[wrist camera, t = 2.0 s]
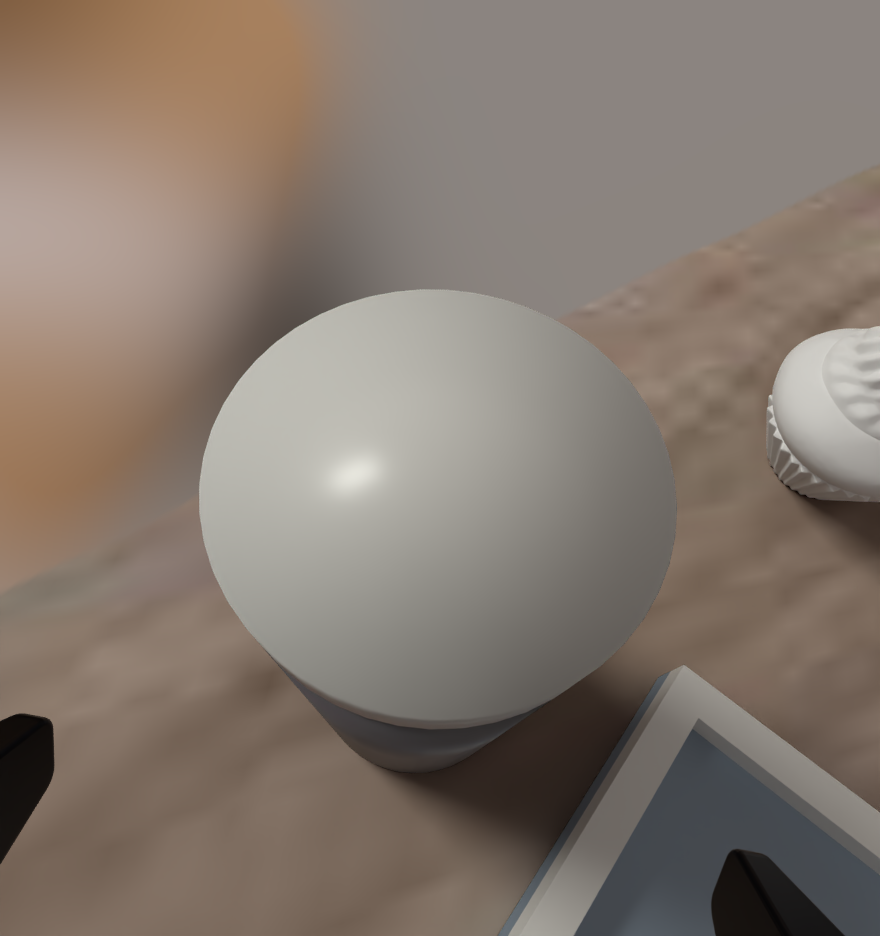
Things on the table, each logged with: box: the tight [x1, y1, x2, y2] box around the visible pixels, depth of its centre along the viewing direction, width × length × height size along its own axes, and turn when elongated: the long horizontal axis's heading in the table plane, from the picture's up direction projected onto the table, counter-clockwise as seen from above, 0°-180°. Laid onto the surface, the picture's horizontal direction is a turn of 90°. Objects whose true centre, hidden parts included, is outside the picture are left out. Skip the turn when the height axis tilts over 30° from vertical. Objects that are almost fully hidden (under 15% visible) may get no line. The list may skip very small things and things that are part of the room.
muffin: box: [766, 326, 880, 502], centre depth 21 cm, size 6×6×7 cm
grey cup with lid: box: [199, 290, 677, 773], centre depth 14 cm, size 6×6×13 cm
